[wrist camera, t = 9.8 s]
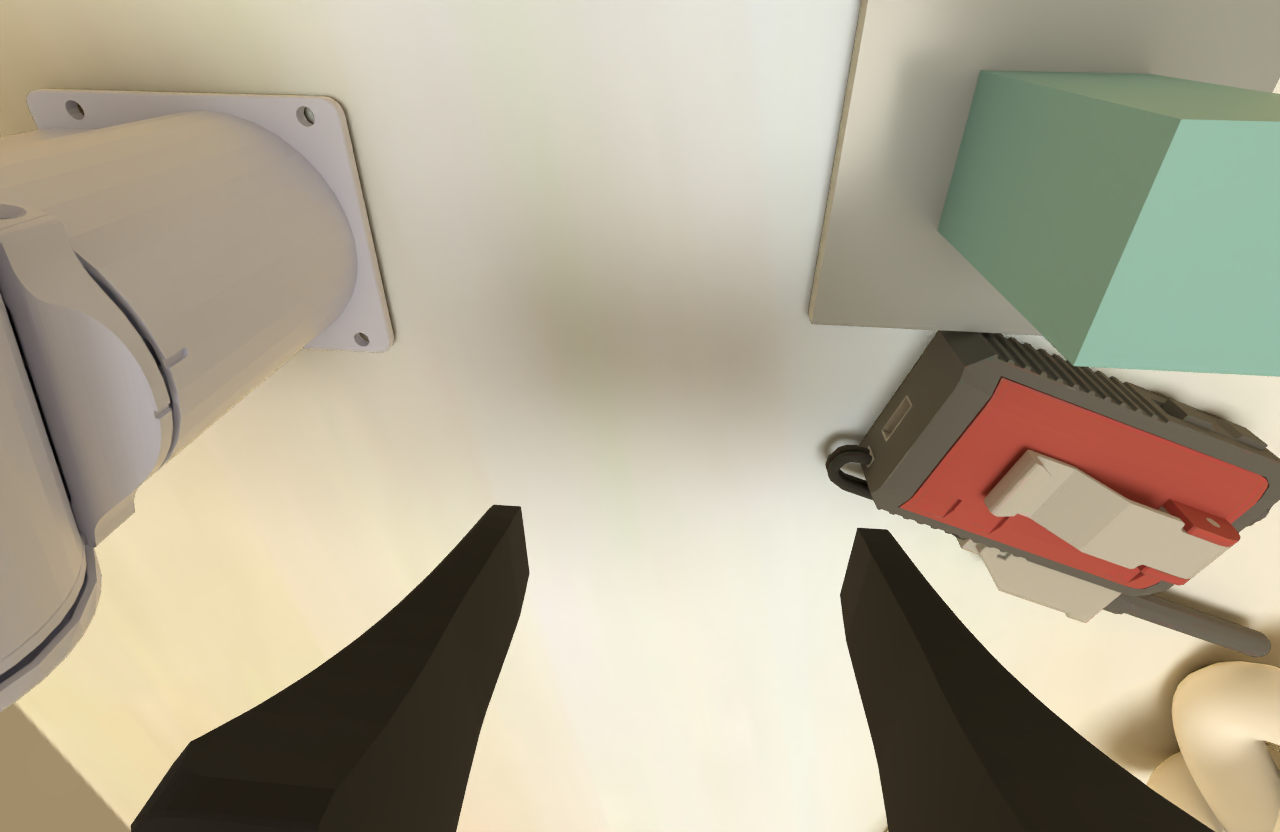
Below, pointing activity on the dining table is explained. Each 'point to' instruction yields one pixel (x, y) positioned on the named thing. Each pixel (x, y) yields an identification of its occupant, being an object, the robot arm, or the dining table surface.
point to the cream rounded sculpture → (1226, 748)
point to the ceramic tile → (936, 118)
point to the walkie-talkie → (1066, 480)
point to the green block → (1126, 216)
